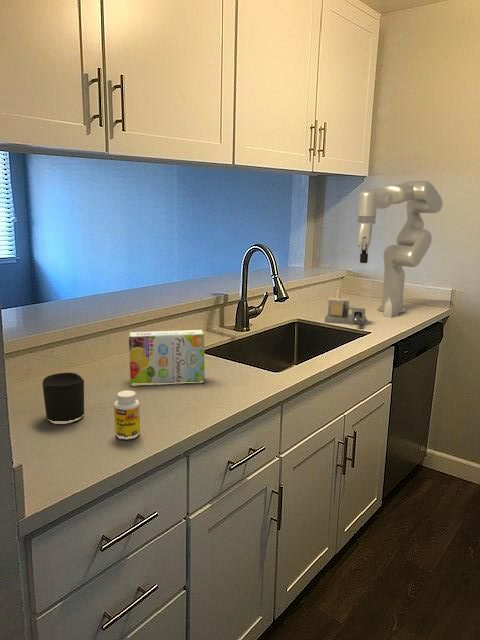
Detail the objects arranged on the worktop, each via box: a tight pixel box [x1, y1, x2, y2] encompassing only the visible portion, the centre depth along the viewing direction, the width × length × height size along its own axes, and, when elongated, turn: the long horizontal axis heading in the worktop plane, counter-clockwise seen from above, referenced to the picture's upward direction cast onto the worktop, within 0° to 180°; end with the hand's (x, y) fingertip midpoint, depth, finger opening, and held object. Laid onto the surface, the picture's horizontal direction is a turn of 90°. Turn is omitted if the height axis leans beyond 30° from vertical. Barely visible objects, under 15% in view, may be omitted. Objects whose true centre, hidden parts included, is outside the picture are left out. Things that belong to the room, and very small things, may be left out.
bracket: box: [324, 300, 367, 326], centre depth 232 cm, size 12×17×8 cm
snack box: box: [128, 329, 205, 385], centre depth 152 cm, size 21×6×15 cm, turn 100°
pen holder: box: [42, 372, 85, 421], centre depth 127 cm, size 9×9×10 cm
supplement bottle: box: [113, 390, 141, 437], centre depth 119 cm, size 6×6×10 cm
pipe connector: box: [326, 289, 350, 303], centre depth 253 cm, size 10×10×10 cm
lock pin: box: [353, 312, 362, 324], centre depth 223 cm, size 14×4×4 cm, turn 163°
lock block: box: [331, 300, 344, 317], centre depth 233 cm, size 7×5×6 cm
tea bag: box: [383, 294, 399, 319], centre depth 243 cm, size 4×7×10 cm, turn 137°
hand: (363, 262), depth 232 cm, fingers closed
